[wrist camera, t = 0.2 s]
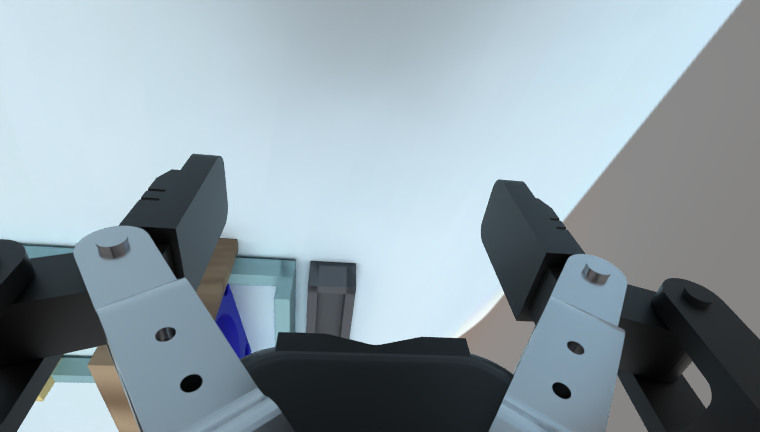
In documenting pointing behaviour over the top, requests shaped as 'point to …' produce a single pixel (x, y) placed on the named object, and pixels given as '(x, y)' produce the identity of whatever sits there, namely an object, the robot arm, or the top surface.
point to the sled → (241, 274)
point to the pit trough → (331, 298)
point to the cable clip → (232, 325)
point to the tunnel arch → (211, 297)
